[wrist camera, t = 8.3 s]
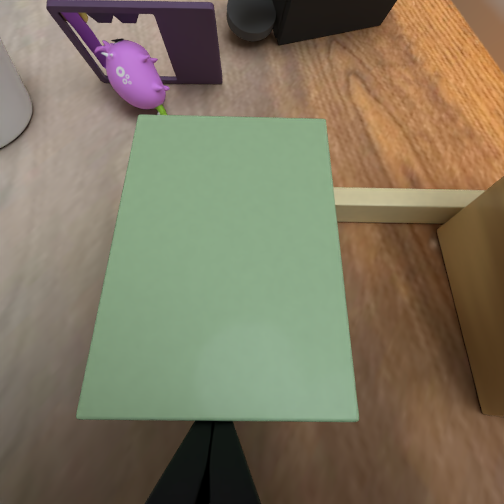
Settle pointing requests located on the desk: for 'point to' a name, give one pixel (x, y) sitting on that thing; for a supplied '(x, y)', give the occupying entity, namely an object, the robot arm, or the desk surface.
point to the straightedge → (400, 204)
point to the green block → (223, 279)
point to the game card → (135, 56)
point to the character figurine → (303, 17)
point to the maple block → (480, 289)
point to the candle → (12, 100)
